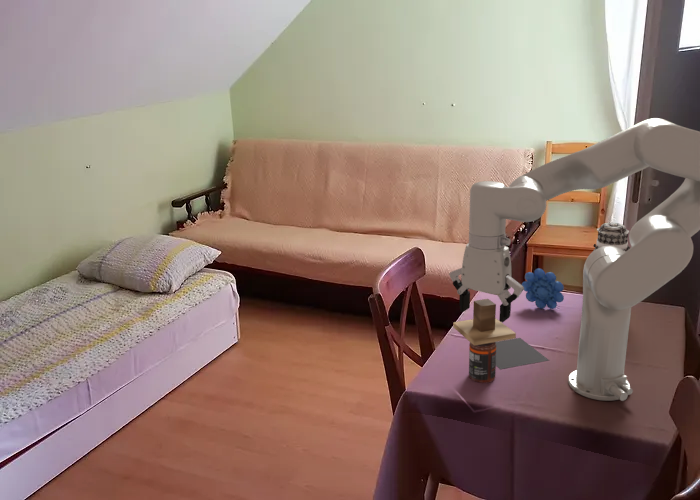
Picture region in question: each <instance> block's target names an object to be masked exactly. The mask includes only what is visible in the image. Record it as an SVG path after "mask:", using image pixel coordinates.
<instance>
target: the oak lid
mask: <svg viewBox="0 0 700 500" xmlns="http://www.w3.org/2000/svg"><path fill="white" fill-rule="evenodd" d="M472 311H473V317H472V319H467V320H466V319H465V320H460V321H459V320H458V321H454V322H453V326H452V327H453V329H455V330H456V331H457V332H458V333H459V334H460V335H461V336H462V337H464V338H465V339H466V340H467V341H468V342H469V343H470V342H471V343H472V344H473V345H474V346H475V345H481V344H486V343H492V342H498V341H504V340H510V339H516V337H517V333H516V332H515V331H513V330H512V329H511V328H510V327H508V326H507V325H506V324H504V322H500V321H499V319H498V318H497V317H496V316H497V315H496V311H497V304H496V303H495V302H493V301H492V300H491V299H489V298H484V299H483V298H482V299H478V300H473V310H472Z"/></svg>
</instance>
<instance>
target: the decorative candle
mask: <svg viewBox="0 0 700 500" xmlns="http://www.w3.org/2000/svg"><path fill="white" fill-rule="evenodd" d="M596 231H597V238H596V243H594V244H593V248H594V249H593V251H594V250H596V249H598V248H600V247H603V246H614V247H617V248H620V249H622V250H623V251H625V252H626V251H627V250H629V249H630V248H631V247H630V246H629V243H628V241H629V233H630V230H628V229H627V227H626V225H624V224H622V223H618V222H607V223H603V224H601V225H600V227H598V228H596ZM593 251H592V252H593Z"/></svg>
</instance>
